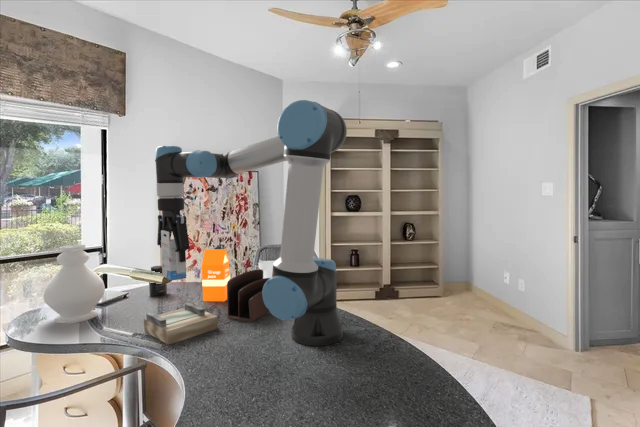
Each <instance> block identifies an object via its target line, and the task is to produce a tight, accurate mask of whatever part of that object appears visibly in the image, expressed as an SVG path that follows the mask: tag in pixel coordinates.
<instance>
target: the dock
mask: <svg viewBox="0 0 640 427" xmlns="http://www.w3.org/2000/svg"><path fill="white" fill-rule="evenodd" d="M143 324H144V325H143V326H144V328H143V329H144V332H145V333H147V334H149V335H150V336H152V337H154V338H156V339H158V340H159V341H161V342H163V343H164V344H165V345H168V346H169V345H173V344H176V343H178V342H182V341H185V340H188V339H191V338H193V337H196V336H200V335H202V334H206V333H209V332H211V331H212V332H213V331H215V330H218V329H219V328H218V327H219V326H218V325H219V324H218V316H217V315H215V314H213V313H211V312H207V311H206V310H205V307H204V308H203V307H201V306H198V305H196V304H193V303H190V302H187V303H184V307H183V308H179V309H175V310H171V311H167V312H164V313H160V314H155V313H153V312H147V313H146V317H145V318H143Z"/></svg>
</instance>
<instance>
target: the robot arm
mask: <svg viewBox="0 0 640 427" xmlns="http://www.w3.org/2000/svg"><path fill="white" fill-rule="evenodd" d="M347 128H348V127H347V125H346V121H345V120H344V119H343V117H342V115H340V114H339V113H338V112H336V111H334V110H333V109H330V108H329V107H328V108H327V107H326V106H323V105H321V104H320V103H319V102H317V101H311V100H307V99H300V100H296V101H293V102H291V103H290V104H289V105H288V106H286V107H285V108H284V109H283V110H282V112H281V113H280V116H279V118H278V120H277V129H276V130H277V136H275V137H271V138H268V139H265V140H262V141H259V142H255V143H253V144H249V145H246V146H243V147H239V148H236V149H233V150H230V151H228V152H224V153H212V152H210V151H208V150H194V151H193V150H192V151H185V152H183V149H182V147H180V146H178V145H177V146H176V145H160V146H157V147H156V149H155V160H154V161H155V162H154V163H155V173H156V196H157V197H158V199H157V210H158V211H161V212H162V214H158V215H157V220H158V224H157V225H158V226H157V241H156V242H157V243H156V244H157V246H159V248H161V230H163V231H168V232H169V239H172V238H171V237H172V236H173V239H174V240H175V244H176V247H177V249H176V250H175V252H176V272H177V273H183V272H186V273H187V258H186V257H187V256H186V255H187V254H186V252H187V250H189V249H190V248H191V246H190V239H189V233H188V228H187V226H188V225H187V216H186V215H185V216H184V215H183V216H182V215H181V211H183V210H185V199H184V189H185V187H184V178H207V179H208V178H209V179H211V178H215V179H217V178H218V179H233V178H234V179H235V178H237V177H238V176H240V174H243V173H246V172H250V171H254V170H257V169H262V168H264V167H269V166H273V165H276V164H279V163H283V162H286V161H287V163H288V169H287V170H288V171H287V180H286V181H287V182H286V192H285V202H284V203H285V204H284V211H283V212H284V213H283V221H282V222H283V223H282V233H281V244H280V252H279V257H278V258H277V259H276V260H274V261H273V264H272V273H271V274H272V275H271V277H268V278H269V279H268V280H267V282H266V283H265V284H264V286H263V290H262V297H263V301H264V304H265V306H266V308H268V309H269V313H270V314H271V315H272V316H274V317H275V318H277V319H278V320H282V321H292V320H293V321H294V322H293V325H292V326H291V338H292V340H293V341H295V342H296V343H298V344H302V345H304V346H312V347H314V346H315V347H323V346H327V345H332V344H336V343H337V342H339V341H341V340H342V339H343V337H344V327H343V325H342V323H341V320H340V316H339V313H338V307H337V306H338V305H337V304H338V303H337V302H338V301H337V300H338V299H337V296H338V295H337V293H338V292H337V273H338V271H337V264H336V262H335V260H333V259H331V258H319V257H315V256H314V254H315V247H316V236H317V227H318V218H319V209H320V199H321V191H322V182H323V180H322V179H323V171H324V167H325V166H326V165H328V163H330V161H331V155H332V153H334V152H336V151H338V150H339V149H341V147H342V146H343V145H344V143H345V141H346V138H347V133H348V132H347V131H348V130H347ZM164 236H165V237H166V235H165V234H164ZM160 251H161V252H160V253H161V256H162V249H161V250H160Z"/></svg>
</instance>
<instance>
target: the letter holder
mask: <svg viewBox="0 0 640 427" xmlns="http://www.w3.org/2000/svg"><path fill="white" fill-rule="evenodd" d="M269 278H270V277H264V270H263V269H252V270H248V271H246V272H243V273H240V274H238V275H236V276H233V277H232V278H230V280H229V281H228V282H227V300H226V301H227V302H226V304H227V319H232V320H237V321H242V322H246V321H247V323H251V322H253V321H255V320H257V319H260V318H262V317H263V316H266V315H267V314H269V313H270V312H269V309H268V308H266V306H265V304H264V301H263V297H262V290H263V286H264V284H265V283H266V282H267V280H268V279H269Z"/></svg>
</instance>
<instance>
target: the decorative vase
mask: <svg viewBox="0 0 640 427" xmlns="http://www.w3.org/2000/svg"><path fill="white" fill-rule="evenodd" d="M85 248H86V245H85V244H71V245H64V246H59V251H62V252H60V253H59V255H57V257H56V262H57V264H59V265H60V266H62V267H61V269H58V271H57V272H56V273H55V274H54V275H53V276H52V277H51V279H49V281H48V282H47V284H46V286H45V287H44V290H43V300H44V302H45V304H46V305H47V306H48V307H49V308H50V309H51V310H53V311H54V312H56V313H57V314H58V316H57V317H55V318H54V322H55V323H57V324H61V323H62V324H63V323H67V324H75V323H80V322H85V321H88V320H91V319H93V318H95V317H97V316H98V315H99V313H98V310H95V307H96V306H97V305H98V304H99V302H100V301H101V300H102V298H103V296H104V294H105V291H106V287H105V283H104V280H103V278H101V277H100V275H98V274H97V272H95V271H94V270H93V269H91V268H90V267H88V265H86V263H88V261H89V259H90V254H89V253H88V252H86V251H85V250H84V249H85ZM62 324H61V325H62ZM63 325H64V324H63Z"/></svg>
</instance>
